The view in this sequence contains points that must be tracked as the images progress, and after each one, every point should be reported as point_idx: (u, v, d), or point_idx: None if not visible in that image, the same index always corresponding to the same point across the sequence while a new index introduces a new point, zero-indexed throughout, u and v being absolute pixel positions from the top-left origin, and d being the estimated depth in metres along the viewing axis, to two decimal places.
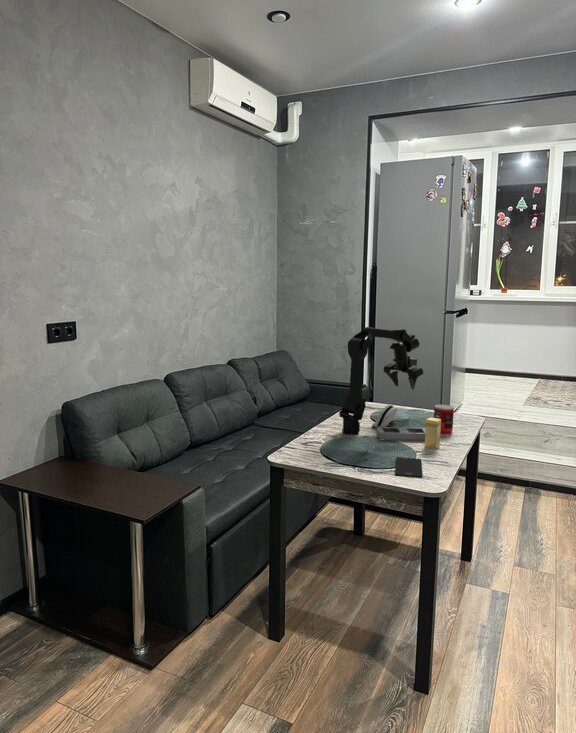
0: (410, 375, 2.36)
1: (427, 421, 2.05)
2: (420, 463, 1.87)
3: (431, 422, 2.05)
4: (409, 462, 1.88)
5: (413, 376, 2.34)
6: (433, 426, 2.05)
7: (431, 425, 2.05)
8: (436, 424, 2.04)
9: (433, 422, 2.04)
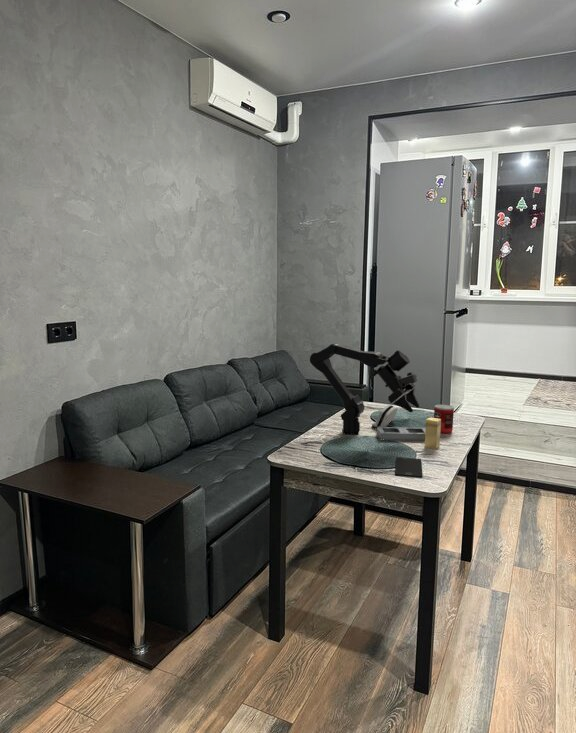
0: None
1: (427, 421, 2.06)
2: (420, 463, 1.87)
3: (431, 422, 2.05)
4: (409, 462, 1.88)
5: None
6: (433, 426, 2.05)
7: (431, 425, 2.05)
8: (436, 424, 2.04)
9: (433, 422, 2.04)
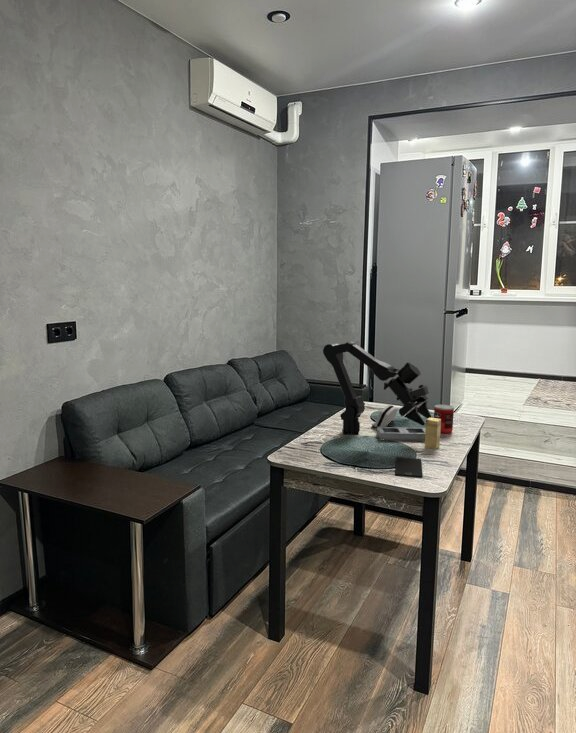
0: None
1: (427, 421, 2.05)
2: (420, 463, 1.87)
3: (431, 422, 2.05)
4: (409, 462, 1.88)
5: None
6: (433, 426, 2.05)
7: (431, 425, 2.05)
8: (436, 424, 2.04)
9: (433, 422, 2.04)
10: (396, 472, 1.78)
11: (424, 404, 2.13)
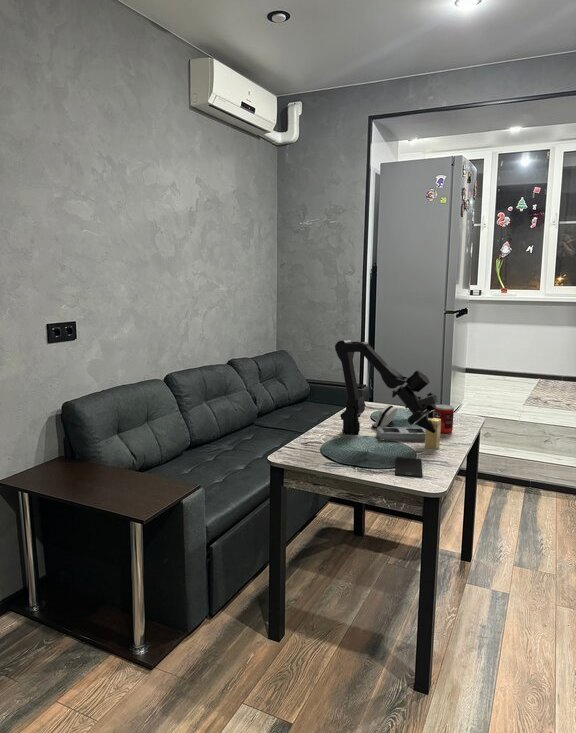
0: None
1: None
2: (420, 463, 1.87)
3: (431, 422, 2.05)
4: (409, 462, 1.88)
5: None
6: (433, 426, 2.05)
7: None
8: (436, 424, 2.04)
9: (433, 422, 2.04)
10: (396, 472, 1.78)
11: (431, 413, 2.10)
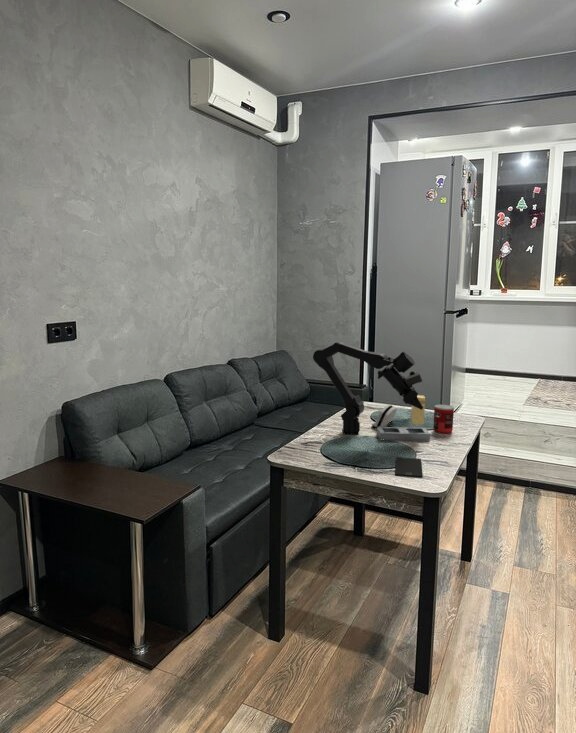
0: None
1: None
2: (420, 463, 1.87)
3: (419, 399, 2.14)
4: (409, 462, 1.88)
5: (405, 402, 2.08)
6: None
7: None
8: (423, 401, 2.14)
9: (421, 399, 2.14)
10: (396, 472, 1.78)
11: None
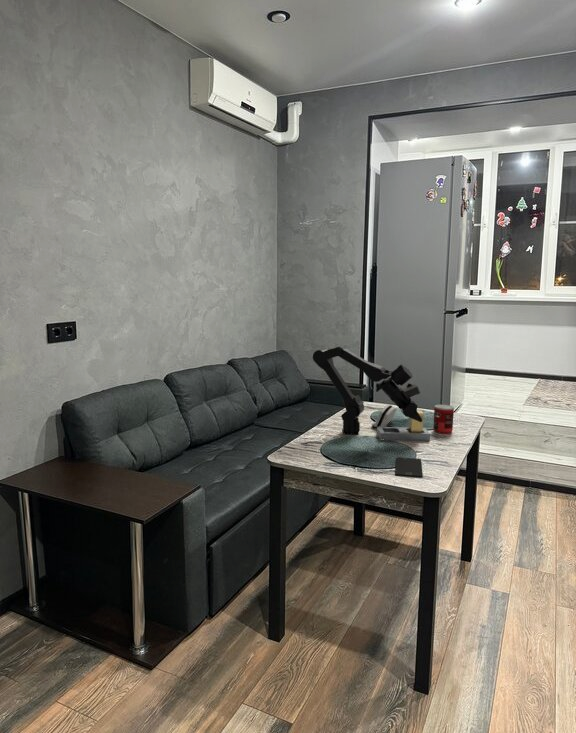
0: None
1: None
2: (420, 463, 1.87)
3: None
4: (409, 462, 1.88)
5: None
6: None
7: None
8: (421, 416, 2.16)
9: (419, 414, 2.16)
10: (396, 472, 1.78)
11: None
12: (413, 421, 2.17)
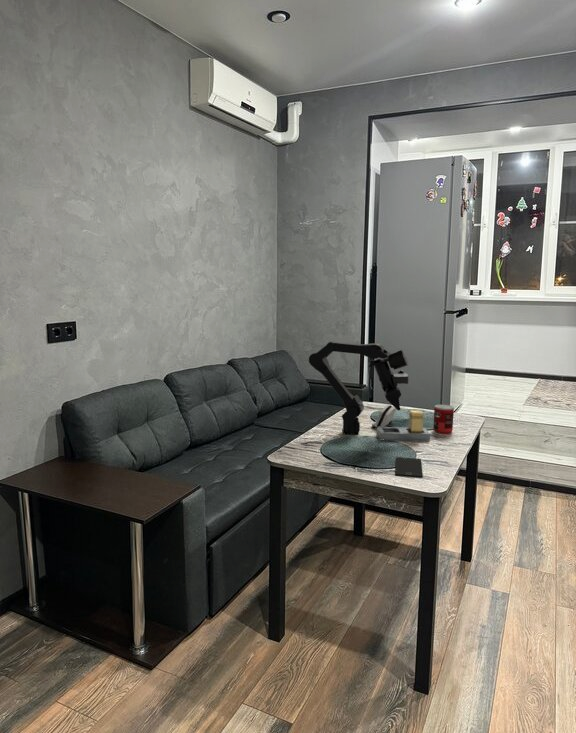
0: None
1: (413, 414, 2.16)
2: (420, 463, 1.87)
3: (417, 414, 2.16)
4: (409, 462, 1.88)
5: (386, 398, 2.13)
6: (419, 418, 2.16)
7: (417, 417, 2.16)
8: (421, 416, 2.16)
9: (419, 414, 2.16)
10: (396, 472, 1.78)
11: None
12: (413, 421, 2.17)
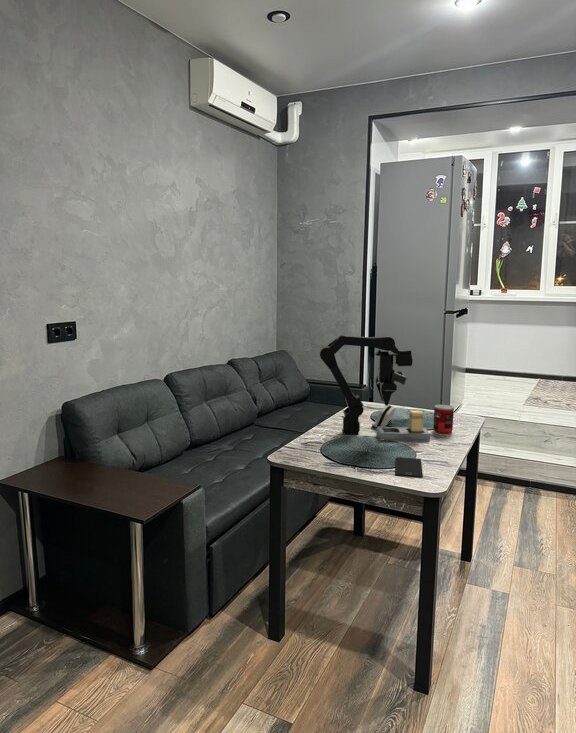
0: (380, 386, 2.16)
1: (413, 414, 2.16)
2: (420, 463, 1.87)
3: (417, 414, 2.16)
4: (409, 462, 1.88)
5: (381, 388, 2.15)
6: (419, 418, 2.16)
7: (417, 417, 2.16)
8: (421, 416, 2.16)
9: (419, 414, 2.16)
10: (396, 472, 1.78)
11: None
12: (413, 421, 2.17)
